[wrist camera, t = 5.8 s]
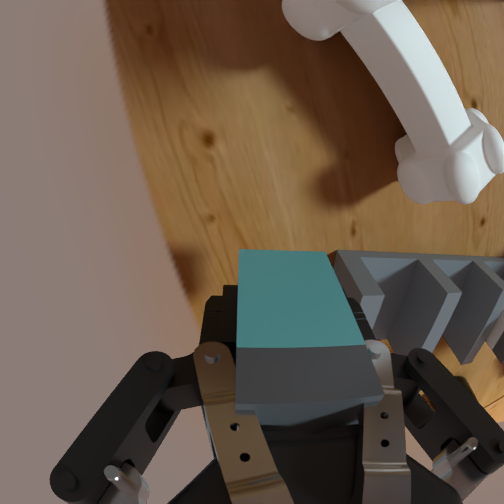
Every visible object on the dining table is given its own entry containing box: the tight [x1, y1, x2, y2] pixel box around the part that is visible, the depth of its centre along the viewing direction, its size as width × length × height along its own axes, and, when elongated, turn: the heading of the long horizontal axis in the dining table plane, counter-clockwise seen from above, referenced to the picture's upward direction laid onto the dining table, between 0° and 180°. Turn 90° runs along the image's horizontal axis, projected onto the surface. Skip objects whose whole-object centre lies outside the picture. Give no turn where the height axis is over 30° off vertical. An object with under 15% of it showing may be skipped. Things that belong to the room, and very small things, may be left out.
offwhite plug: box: [485, 307, 504, 364], centre depth 22 cm, size 4×4×8 cm
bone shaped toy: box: [282, 0, 504, 204], centre depth 13 cm, size 15×9×8 cm, turn 39°
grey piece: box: [333, 250, 504, 365], centre depth 23 cm, size 23×9×6 cm, turn 86°
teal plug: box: [235, 249, 385, 435], centre depth 11 cm, size 4×4×8 cm
